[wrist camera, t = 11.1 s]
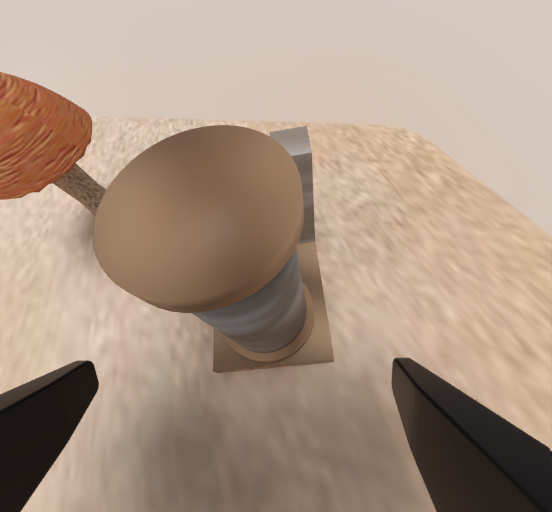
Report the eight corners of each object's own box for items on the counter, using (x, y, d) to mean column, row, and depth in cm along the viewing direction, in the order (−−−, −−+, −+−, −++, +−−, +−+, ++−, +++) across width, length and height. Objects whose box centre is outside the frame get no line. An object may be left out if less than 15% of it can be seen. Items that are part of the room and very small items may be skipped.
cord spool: (261, 384, 18) (152, 358, 6) (208, 311, 21) (64, 201, 9) (333, 318, 19) (350, 194, 8) (274, 257, 22) (221, 101, 10)
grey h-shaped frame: (333, 361, 19) (344, 328, 10) (218, 372, 19) (132, 351, 11) (311, 225, 24) (306, 123, 15) (220, 238, 25) (164, 148, 16)
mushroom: (72, 246, 27) (-175, 95, 13) (130, 187, 29) (-29, 11, 16) (127, 284, 24) (-115, 141, 11) (185, 214, 26) (49, 29, 13)
